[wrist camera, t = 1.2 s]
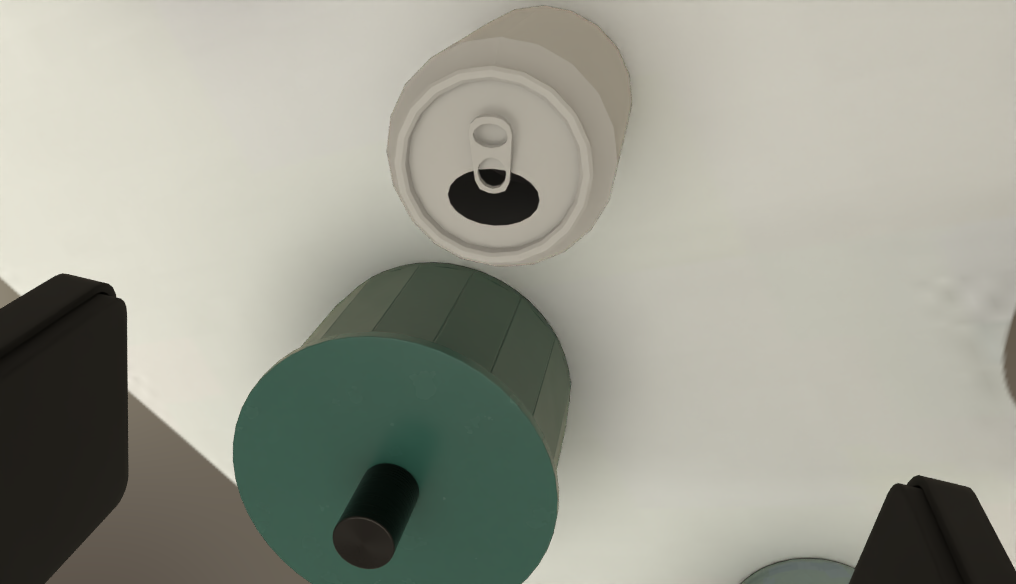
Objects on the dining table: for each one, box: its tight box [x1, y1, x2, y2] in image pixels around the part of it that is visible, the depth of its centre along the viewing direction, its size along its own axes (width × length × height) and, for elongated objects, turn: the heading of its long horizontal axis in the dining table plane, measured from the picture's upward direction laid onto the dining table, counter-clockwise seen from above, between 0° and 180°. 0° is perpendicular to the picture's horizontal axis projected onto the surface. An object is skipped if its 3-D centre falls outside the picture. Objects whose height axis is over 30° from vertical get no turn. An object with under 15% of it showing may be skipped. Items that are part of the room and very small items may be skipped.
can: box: [387, 6, 632, 267], centre depth 32 cm, size 8×8×12 cm
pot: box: [301, 263, 571, 470], centre depth 40 cm, size 13×13×8 cm
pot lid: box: [233, 331, 559, 584], centre depth 35 cm, size 14×14×5 cm
